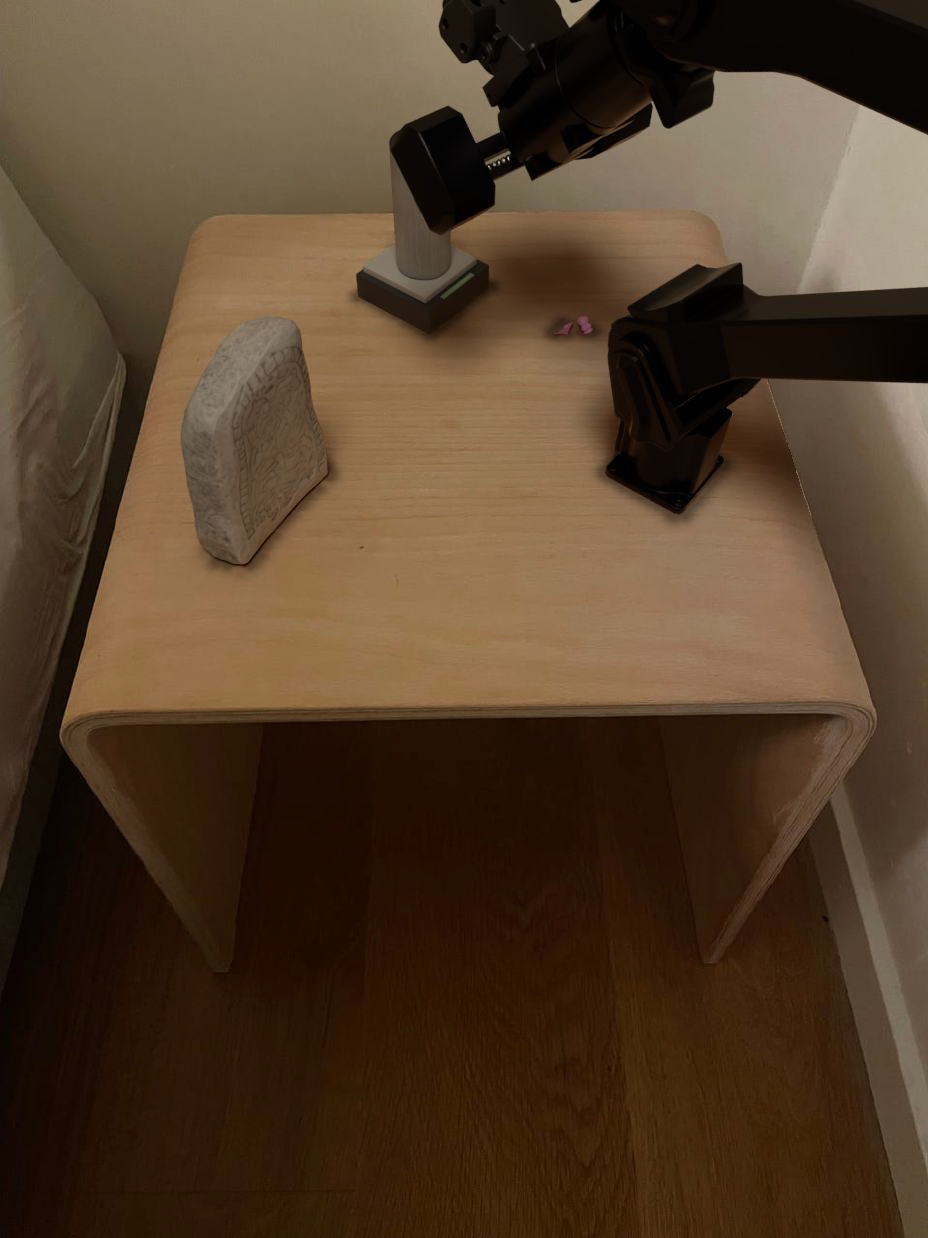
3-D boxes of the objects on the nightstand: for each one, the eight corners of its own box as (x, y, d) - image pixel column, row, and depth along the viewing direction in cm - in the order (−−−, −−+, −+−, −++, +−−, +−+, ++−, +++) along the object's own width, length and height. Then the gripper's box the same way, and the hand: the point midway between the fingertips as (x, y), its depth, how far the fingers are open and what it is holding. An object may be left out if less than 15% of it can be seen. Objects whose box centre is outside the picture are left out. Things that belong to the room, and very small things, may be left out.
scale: (488, 287, 78) (489, 258, 76) (430, 334, 74) (429, 305, 72) (417, 252, 81) (416, 223, 78) (357, 296, 77) (354, 267, 75)
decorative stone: (256, 581, 60) (204, 414, 48) (183, 548, 62) (115, 378, 49) (342, 474, 66) (315, 299, 53) (273, 447, 67) (232, 270, 55)
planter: (398, 282, 74) (390, 158, 65) (394, 249, 76) (387, 125, 68) (453, 279, 74) (453, 155, 66) (448, 246, 77) (447, 123, 68)
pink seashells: (561, 350, 76) (564, 351, 74) (552, 333, 76) (555, 334, 74) (592, 331, 76) (596, 332, 74) (583, 313, 75) (587, 314, 73)
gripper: (650, -117, 52) (511, 27, 66) (401, -27, 45) (304, 113, 59) (723, 77, 56) (577, 176, 69) (501, 188, 49) (387, 273, 62)
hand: (467, 181), depth 65 cm, fingers open, 9 cm apart
